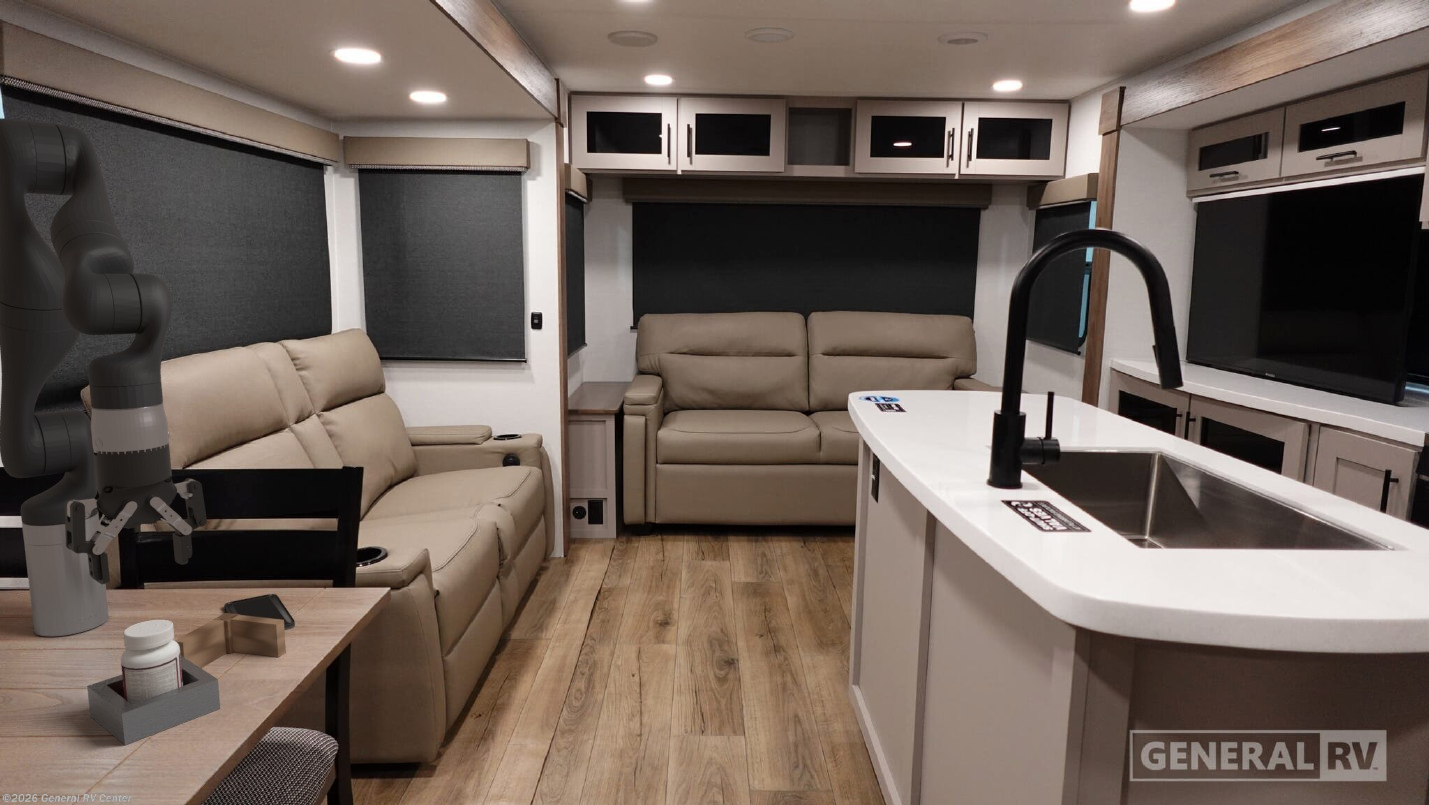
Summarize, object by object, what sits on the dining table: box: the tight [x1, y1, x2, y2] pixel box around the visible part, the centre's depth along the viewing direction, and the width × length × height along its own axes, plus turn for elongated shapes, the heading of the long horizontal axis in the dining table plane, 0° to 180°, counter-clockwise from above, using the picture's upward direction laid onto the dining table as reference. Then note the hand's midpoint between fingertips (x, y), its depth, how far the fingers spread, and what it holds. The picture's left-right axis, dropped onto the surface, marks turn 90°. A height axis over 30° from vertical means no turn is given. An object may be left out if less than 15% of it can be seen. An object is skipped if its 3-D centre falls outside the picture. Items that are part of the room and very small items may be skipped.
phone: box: [223, 593, 296, 631], centre depth 135 cm, size 8×1×15 cm
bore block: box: [86, 655, 221, 746], centre depth 106 cm, size 11×11×4 cm
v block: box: [173, 612, 287, 669], centre depth 122 cm, size 8×14×5 cm, turn 124°
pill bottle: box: [120, 619, 183, 704], centre depth 106 cm, size 6×6×11 cm
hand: (143, 572), depth 104 cm, fingers open, 8 cm apart
